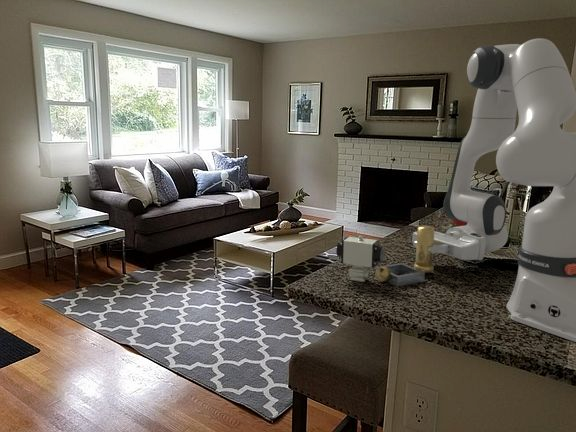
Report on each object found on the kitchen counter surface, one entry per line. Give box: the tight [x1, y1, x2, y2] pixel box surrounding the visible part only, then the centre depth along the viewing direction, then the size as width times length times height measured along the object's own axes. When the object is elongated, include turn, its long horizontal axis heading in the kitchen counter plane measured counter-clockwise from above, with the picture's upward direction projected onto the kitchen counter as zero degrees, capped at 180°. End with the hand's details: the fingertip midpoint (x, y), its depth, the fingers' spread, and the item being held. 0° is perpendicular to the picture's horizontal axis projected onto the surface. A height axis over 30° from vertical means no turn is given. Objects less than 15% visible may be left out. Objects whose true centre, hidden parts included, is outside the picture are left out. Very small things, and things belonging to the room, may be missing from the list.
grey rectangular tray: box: [375, 262, 426, 287], centre depth 118 cm, size 9×11×4 cm
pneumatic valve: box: [335, 235, 386, 283], centre depth 117 cm, size 6×12×12 cm, turn 63°
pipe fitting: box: [413, 225, 436, 274], centre depth 122 cm, size 5×5×12 cm
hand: (422, 247), depth 121 cm, fingers closed on pipe fitting, 4 cm apart
